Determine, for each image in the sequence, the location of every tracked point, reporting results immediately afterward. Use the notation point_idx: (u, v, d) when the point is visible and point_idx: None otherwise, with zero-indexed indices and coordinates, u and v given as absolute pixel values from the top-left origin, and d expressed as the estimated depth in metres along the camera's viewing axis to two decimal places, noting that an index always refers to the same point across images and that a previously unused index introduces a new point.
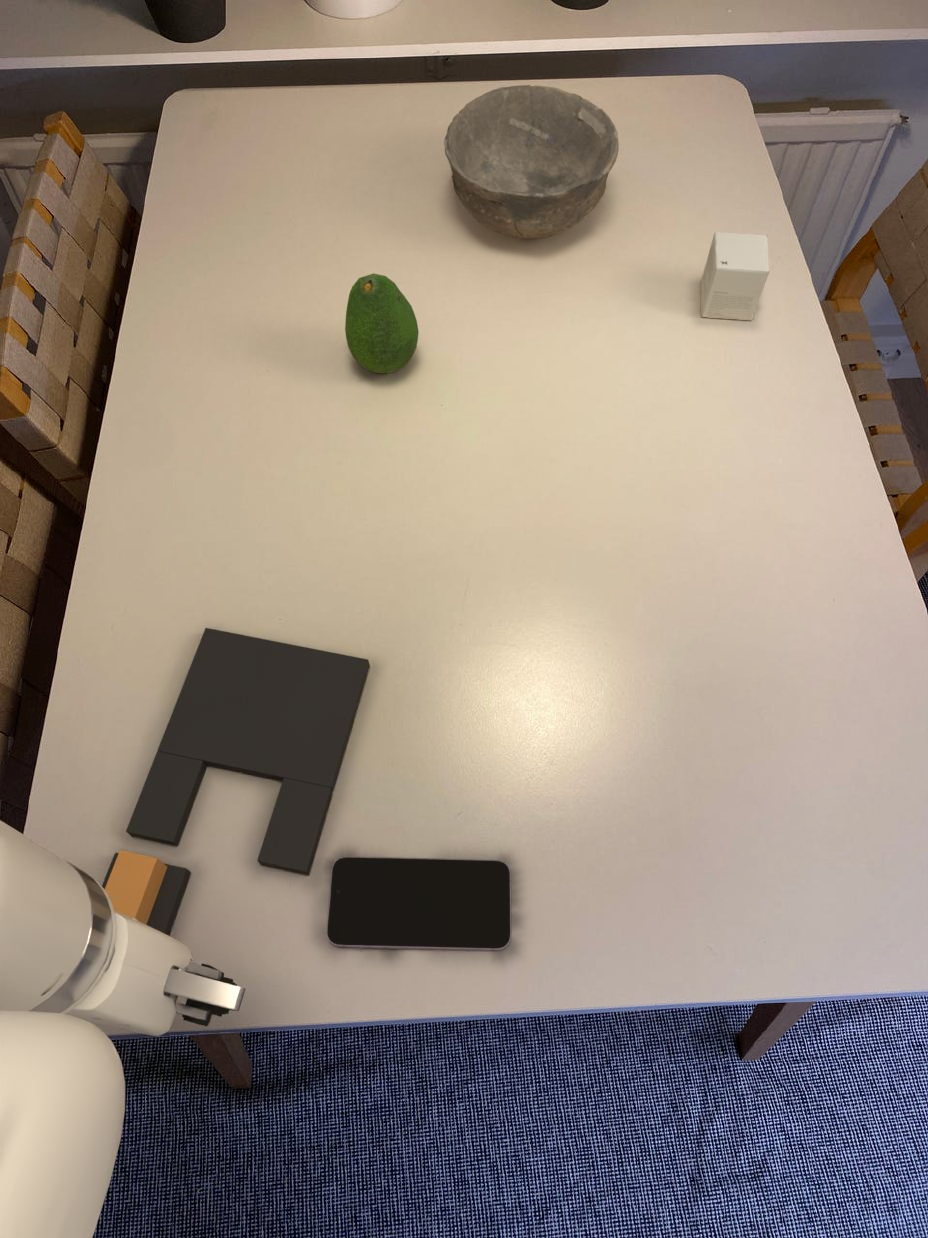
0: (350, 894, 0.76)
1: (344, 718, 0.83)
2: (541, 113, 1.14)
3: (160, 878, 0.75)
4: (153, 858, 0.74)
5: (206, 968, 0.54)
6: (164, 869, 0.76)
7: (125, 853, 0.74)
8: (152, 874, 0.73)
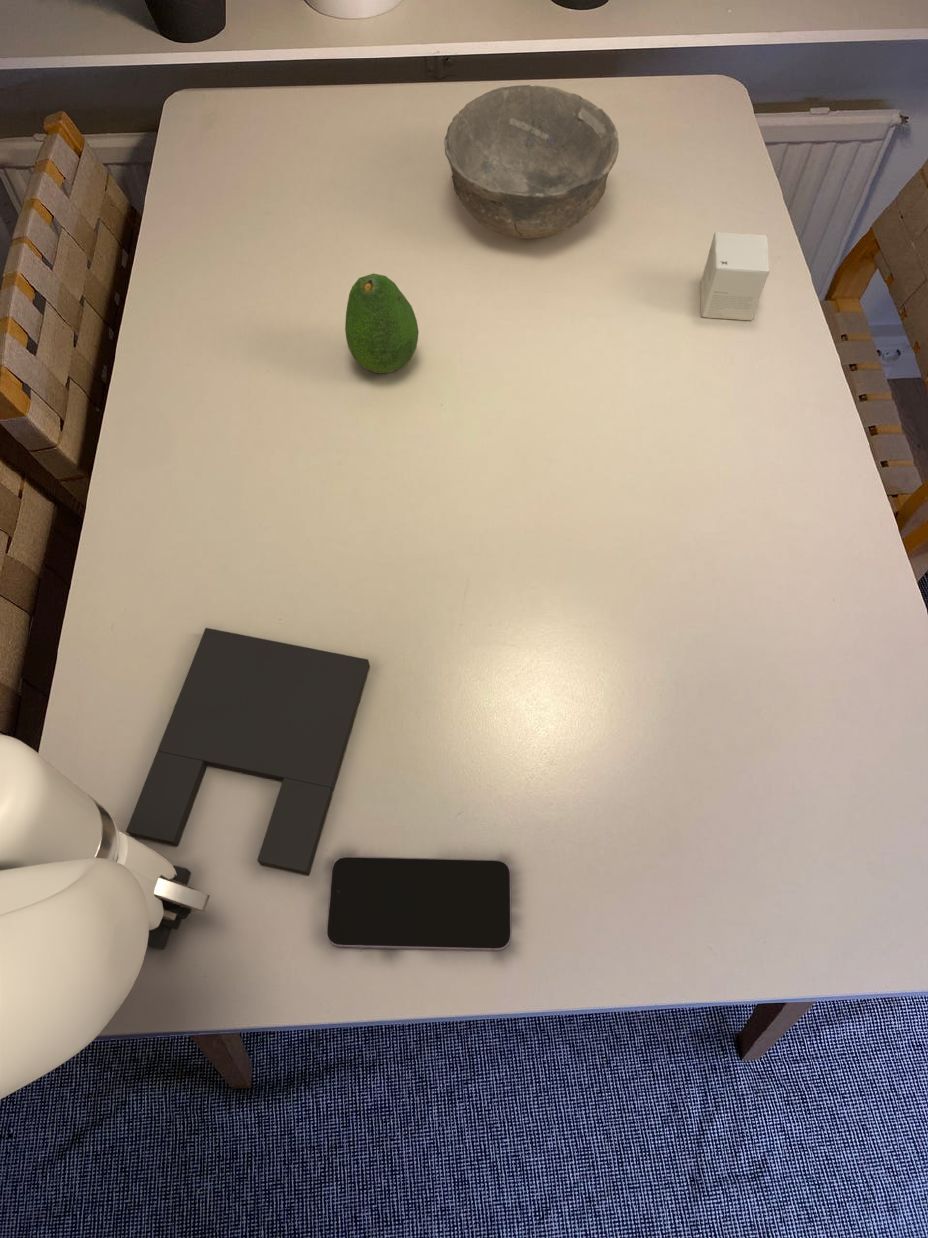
0: (350, 894, 0.76)
1: (344, 718, 0.83)
2: (541, 113, 1.14)
3: None
4: None
5: None
6: None
7: None
8: None
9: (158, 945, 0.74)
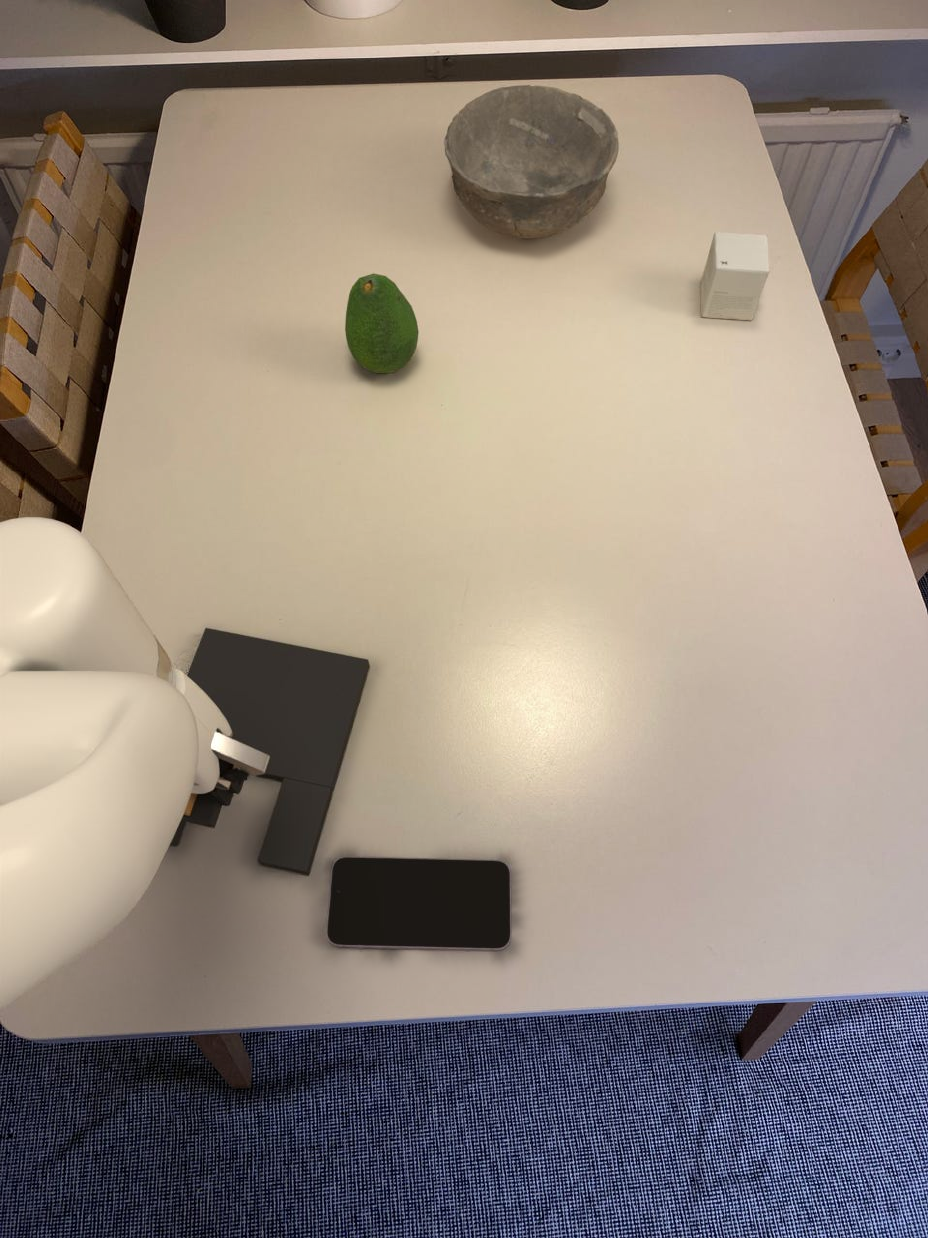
0: (350, 894, 0.76)
1: (344, 718, 0.83)
2: (541, 113, 1.14)
3: None
4: None
5: None
6: None
7: None
8: None
9: (209, 821, 0.66)
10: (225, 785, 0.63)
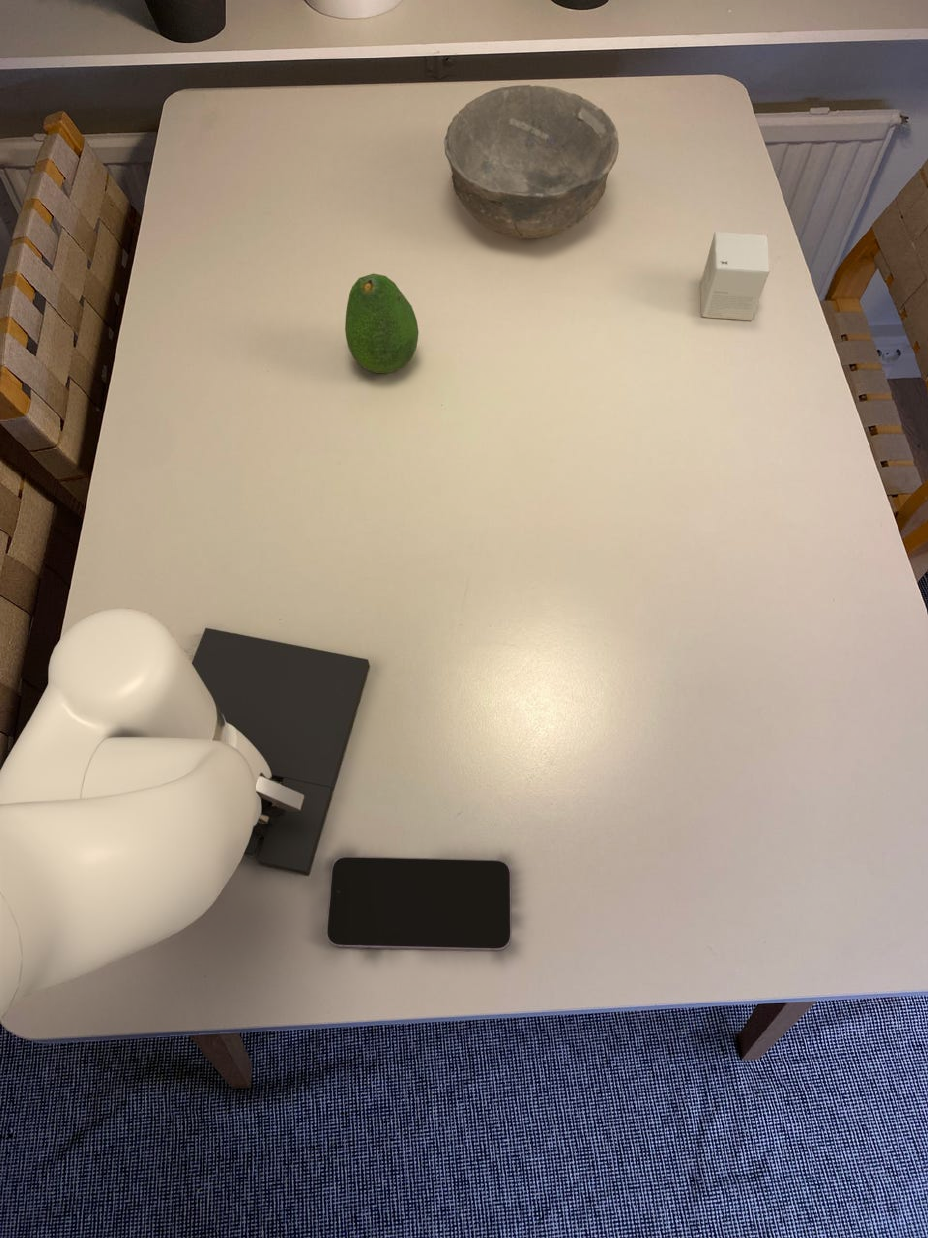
0: (350, 894, 0.76)
1: (344, 718, 0.83)
2: (541, 113, 1.14)
3: None
4: None
5: None
6: None
7: None
8: None
9: (249, 850, 0.76)
10: (264, 820, 0.73)
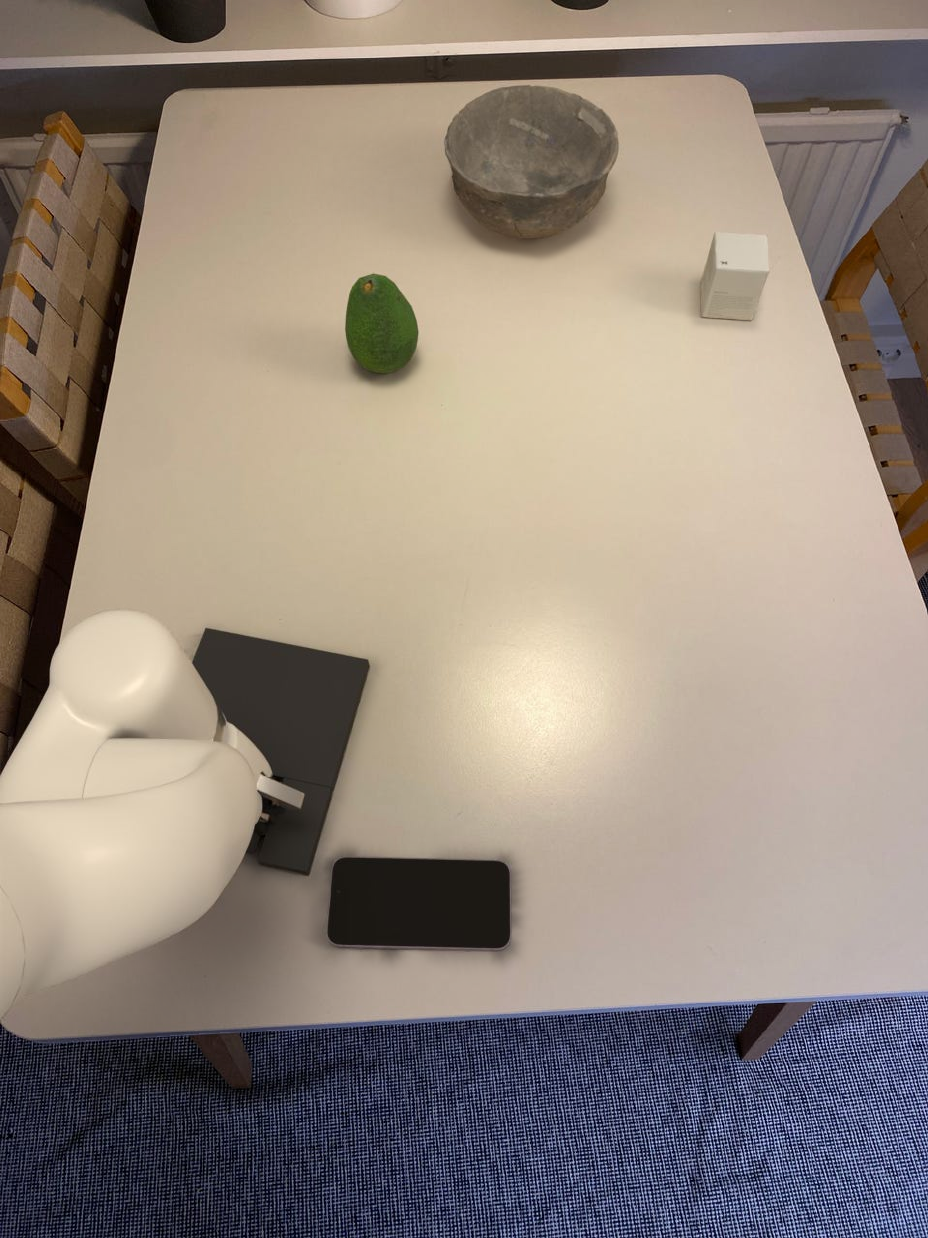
0: (350, 894, 0.76)
1: (344, 718, 0.83)
2: (541, 113, 1.14)
3: None
4: None
5: None
6: None
7: None
8: None
9: (250, 848, 0.76)
10: (265, 818, 0.73)
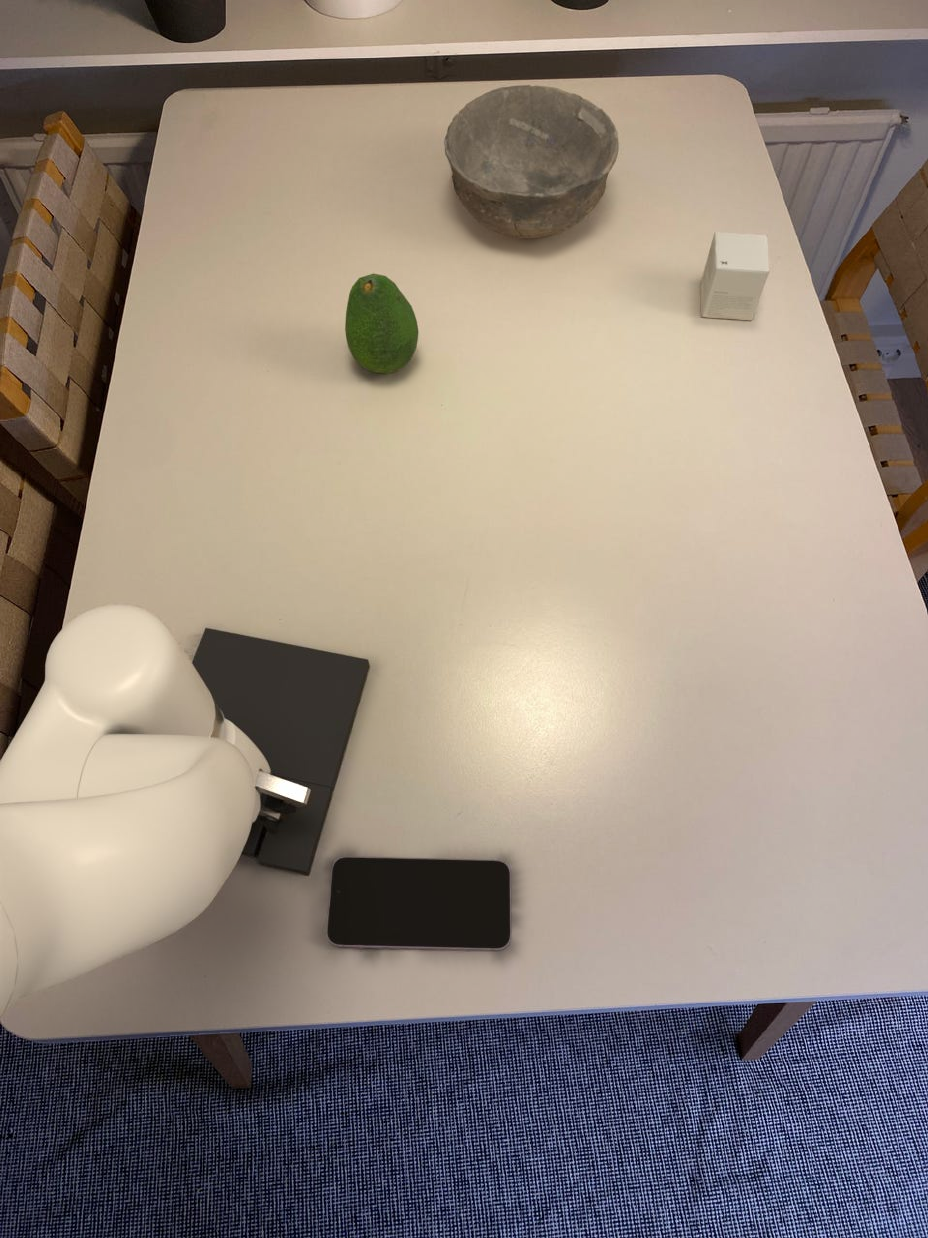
0: (350, 894, 0.76)
1: (344, 718, 0.83)
2: (541, 113, 1.14)
3: None
4: None
5: None
6: None
7: None
8: None
9: (252, 852, 0.77)
10: (276, 817, 0.72)
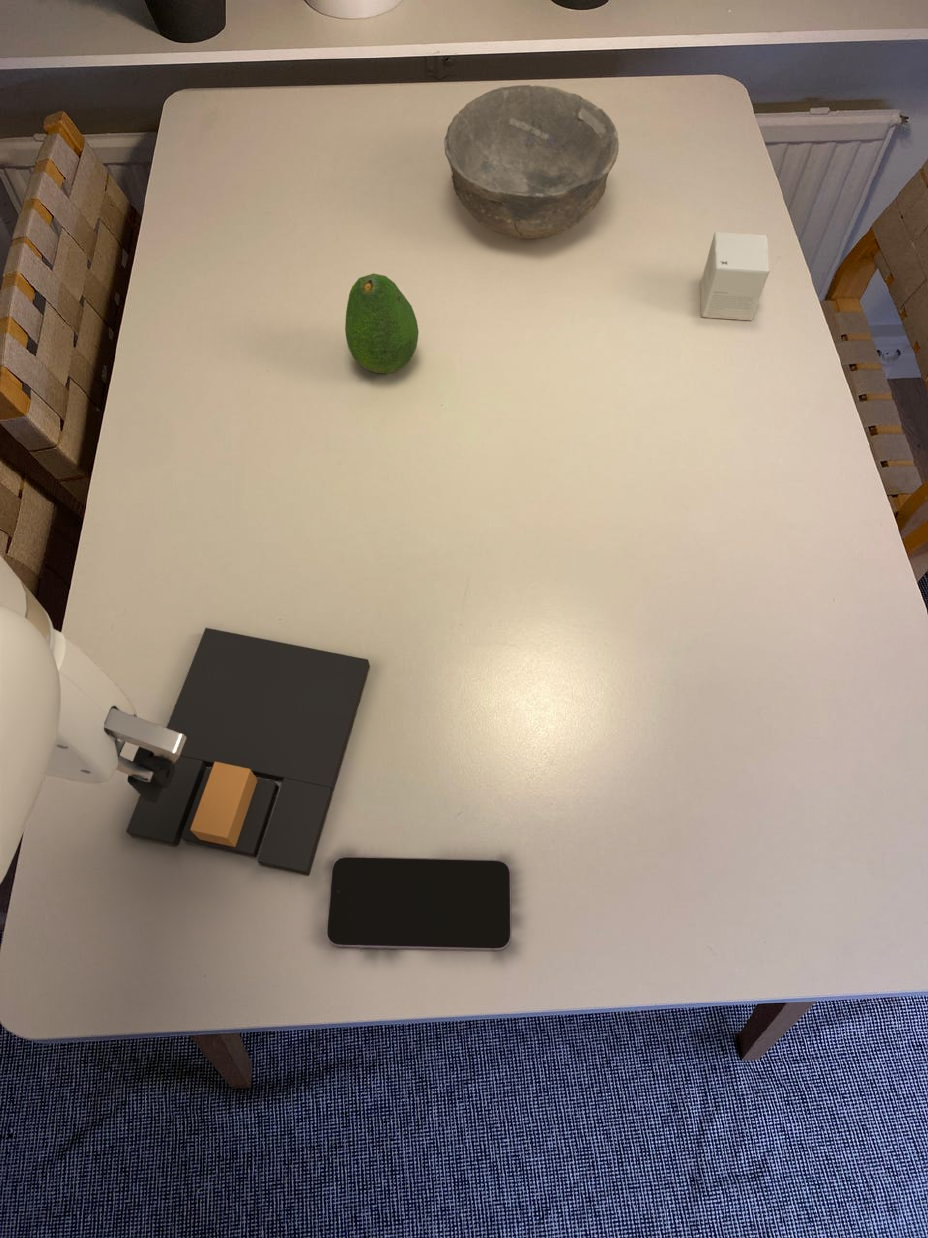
0: (350, 894, 0.76)
1: (344, 718, 0.83)
2: (541, 113, 1.14)
3: (252, 790, 0.79)
4: (247, 769, 0.77)
5: None
6: (255, 782, 0.79)
7: (220, 764, 0.77)
8: (246, 784, 0.77)
9: (252, 852, 0.77)
10: (146, 776, 0.54)
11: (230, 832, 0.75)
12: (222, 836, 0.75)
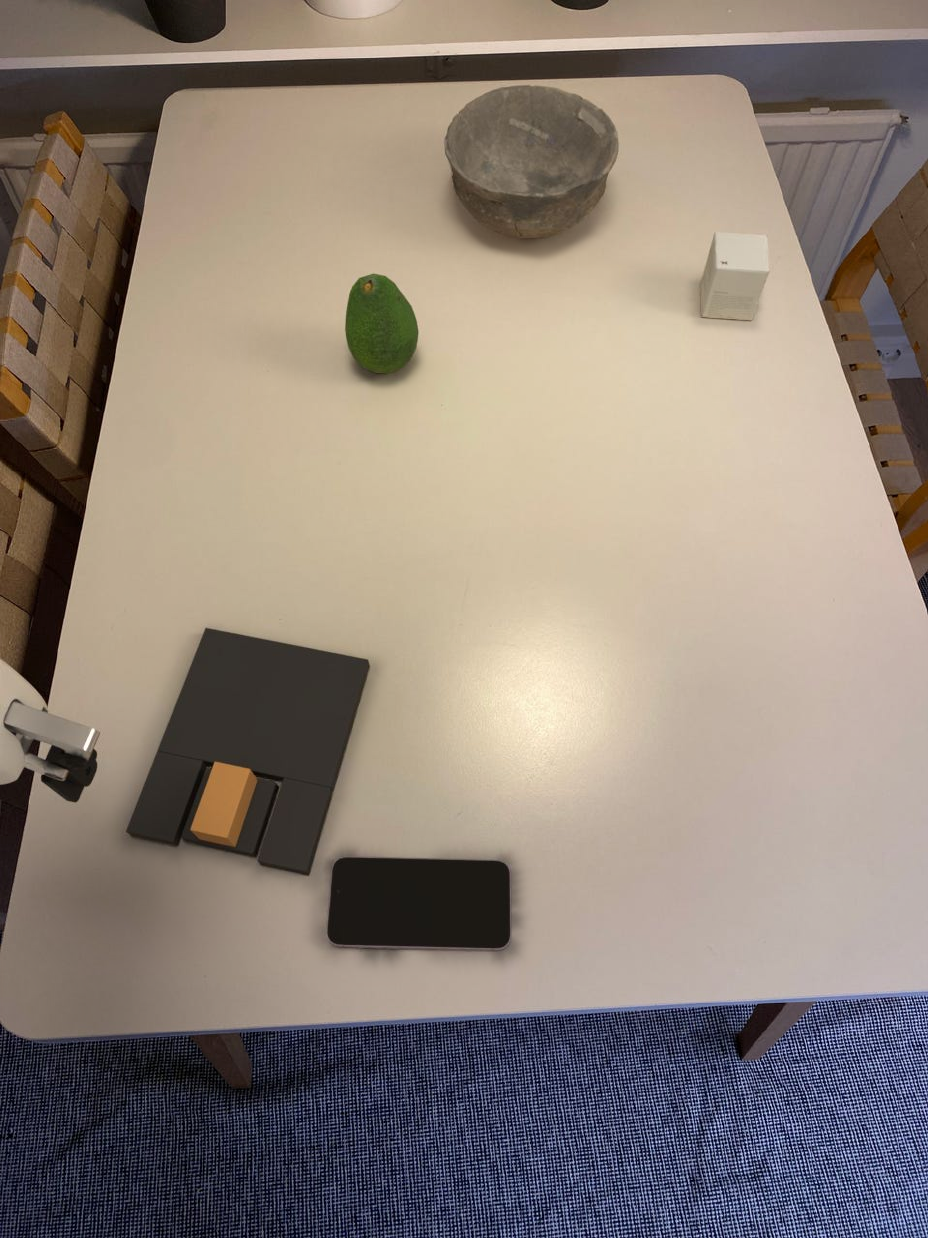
0: (350, 894, 0.76)
1: (344, 718, 0.83)
2: (541, 113, 1.14)
3: (252, 790, 0.79)
4: (247, 769, 0.77)
5: None
6: (255, 782, 0.79)
7: (220, 764, 0.77)
8: (246, 784, 0.77)
9: (252, 852, 0.77)
10: (59, 774, 0.49)
11: (230, 832, 0.75)
12: (222, 836, 0.75)
